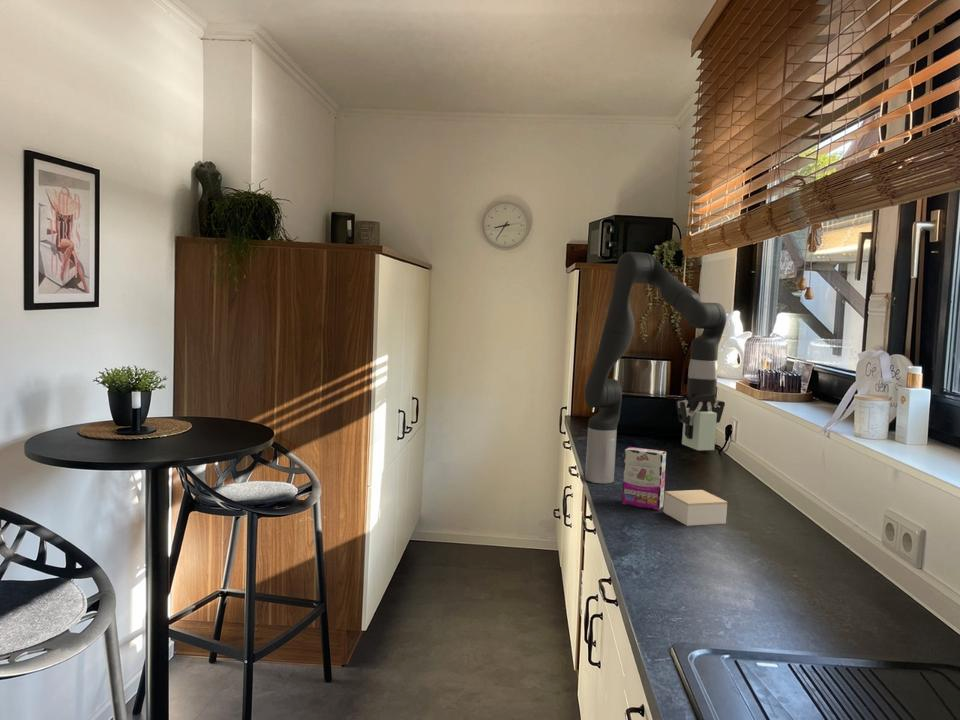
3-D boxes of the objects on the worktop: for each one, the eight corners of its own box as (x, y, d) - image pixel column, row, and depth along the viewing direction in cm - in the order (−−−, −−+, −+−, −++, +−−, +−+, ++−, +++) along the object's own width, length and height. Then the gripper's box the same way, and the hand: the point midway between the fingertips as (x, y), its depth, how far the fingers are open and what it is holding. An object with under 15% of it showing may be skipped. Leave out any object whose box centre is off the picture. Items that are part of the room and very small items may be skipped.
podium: (663, 512, 207) (664, 491, 206) (700, 510, 210) (702, 489, 210) (686, 525, 195) (688, 503, 195) (725, 523, 199) (727, 501, 198)
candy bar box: (663, 506, 212) (667, 451, 211) (659, 511, 208) (663, 454, 206) (625, 500, 217) (629, 445, 216) (620, 504, 213) (624, 448, 211)
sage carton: (681, 444, 204) (684, 408, 203) (697, 443, 205) (700, 408, 204) (697, 450, 196) (700, 413, 195) (714, 449, 198) (716, 413, 197)
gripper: (717, 374, 204) (713, 435, 206) (671, 374, 200) (667, 435, 202) (733, 378, 197) (729, 440, 199) (686, 378, 193) (682, 441, 195)
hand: (698, 437), depth 200 cm, fingers closed on sage carton, 5 cm apart
